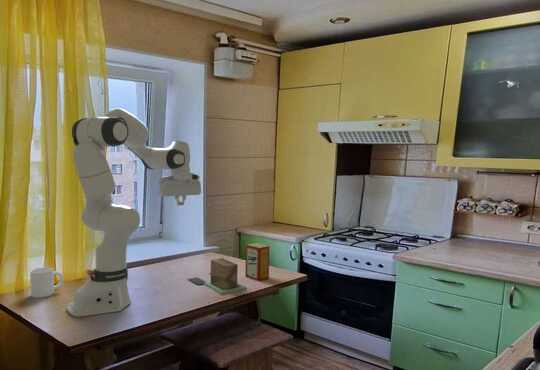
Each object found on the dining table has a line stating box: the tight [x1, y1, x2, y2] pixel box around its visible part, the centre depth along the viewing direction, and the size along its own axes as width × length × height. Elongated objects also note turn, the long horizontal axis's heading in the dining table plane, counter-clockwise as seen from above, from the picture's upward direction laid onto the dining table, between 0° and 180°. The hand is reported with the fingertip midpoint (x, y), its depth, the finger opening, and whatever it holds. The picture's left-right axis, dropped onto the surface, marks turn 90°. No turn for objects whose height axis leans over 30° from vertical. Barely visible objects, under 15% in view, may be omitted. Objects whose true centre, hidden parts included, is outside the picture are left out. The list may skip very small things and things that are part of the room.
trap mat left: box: [187, 276, 206, 286], centre depth 191 cm, size 5×10×1 cm, turn 37°
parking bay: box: [203, 281, 248, 295], centre depth 185 cm, size 13×16×1 cm
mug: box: [29, 266, 64, 299], centre depth 171 cm, size 12×8×10 cm
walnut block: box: [210, 257, 239, 291], centre depth 185 cm, size 6×13×11 cm, turn 37°
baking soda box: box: [244, 242, 270, 282], centre depth 199 cm, size 10×6×16 cm
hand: (180, 205), depth 198 cm, fingers closed
